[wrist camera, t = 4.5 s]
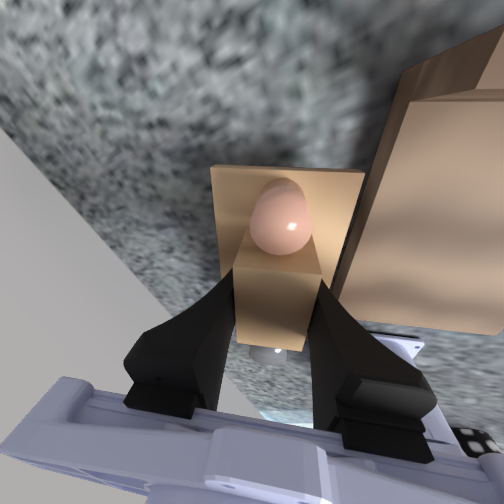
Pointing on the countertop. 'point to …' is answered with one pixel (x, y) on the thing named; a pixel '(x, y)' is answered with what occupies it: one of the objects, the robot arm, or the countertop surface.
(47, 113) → the countertop surface
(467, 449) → the spotted tube
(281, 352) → the wooden stand
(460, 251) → the light wood stepped block
